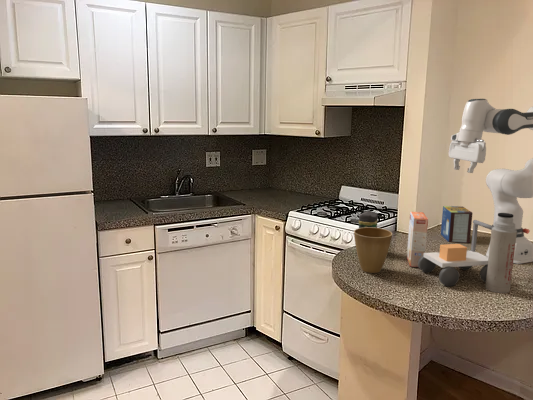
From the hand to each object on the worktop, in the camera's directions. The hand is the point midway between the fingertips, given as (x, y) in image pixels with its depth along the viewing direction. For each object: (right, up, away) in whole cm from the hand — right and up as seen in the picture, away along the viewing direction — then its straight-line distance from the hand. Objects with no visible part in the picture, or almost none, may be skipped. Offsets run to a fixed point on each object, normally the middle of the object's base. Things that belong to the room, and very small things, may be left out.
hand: (463, 171), depth 190 cm
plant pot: (-40, -41, -6) cm, 57 cm away
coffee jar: (-36, -36, +19) cm, 54 cm away
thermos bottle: (+2, -45, -24) cm, 51 cm away
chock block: (-11, -34, -17) cm, 40 cm away
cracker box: (-19, -39, +4) cm, 43 cm away
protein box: (+14, -32, +43) cm, 55 cm away
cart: (-8, -42, -13) cm, 45 cm away
